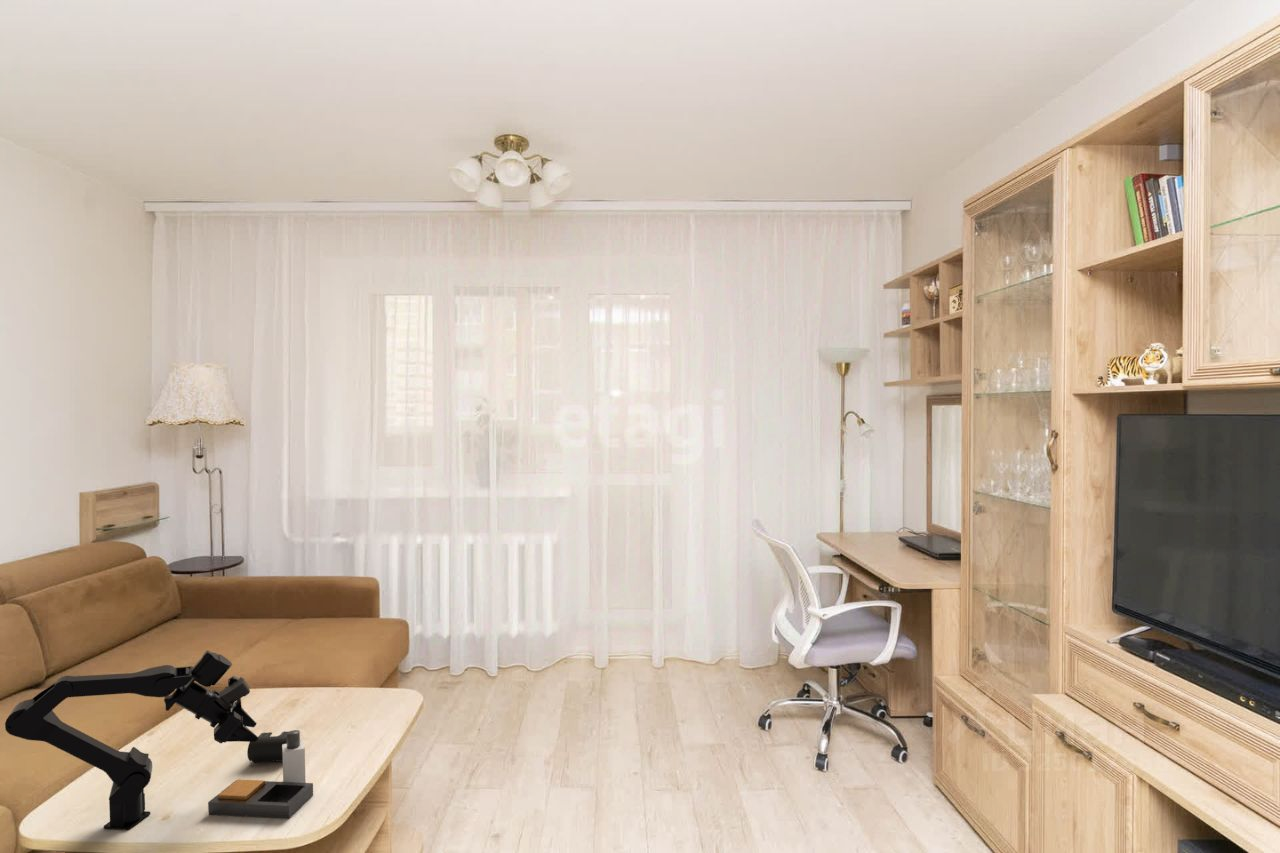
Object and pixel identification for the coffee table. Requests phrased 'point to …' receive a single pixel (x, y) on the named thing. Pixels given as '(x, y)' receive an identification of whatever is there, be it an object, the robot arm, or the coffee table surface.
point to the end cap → (267, 748)
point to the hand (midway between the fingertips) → (256, 732)
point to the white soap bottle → (294, 758)
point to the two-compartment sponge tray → (261, 799)
